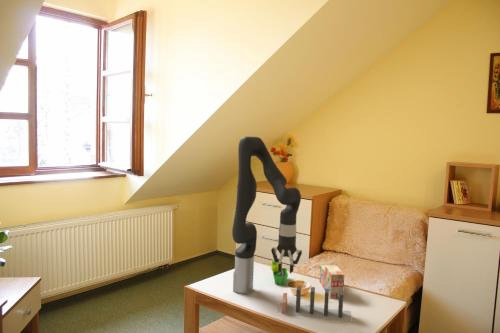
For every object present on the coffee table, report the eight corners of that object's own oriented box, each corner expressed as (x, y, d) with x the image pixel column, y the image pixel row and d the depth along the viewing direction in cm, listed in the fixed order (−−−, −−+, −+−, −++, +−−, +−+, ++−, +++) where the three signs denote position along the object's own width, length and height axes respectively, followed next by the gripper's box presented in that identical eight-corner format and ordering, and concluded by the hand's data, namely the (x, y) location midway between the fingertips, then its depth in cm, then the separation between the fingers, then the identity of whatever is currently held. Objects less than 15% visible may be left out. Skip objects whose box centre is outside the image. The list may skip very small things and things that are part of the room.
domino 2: (295, 312, 169) (296, 289, 168) (296, 307, 174) (297, 285, 173) (299, 312, 169) (300, 290, 168) (300, 307, 173) (301, 285, 173)
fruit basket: (287, 285, 199) (288, 264, 198) (270, 285, 200) (271, 263, 199) (286, 277, 211) (287, 257, 210) (269, 276, 211) (270, 256, 210)
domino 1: (282, 302, 167) (283, 292, 177) (281, 313, 167) (283, 303, 177) (285, 302, 167) (287, 293, 177) (285, 313, 167) (286, 303, 177)
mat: (277, 313, 168) (277, 312, 168) (280, 303, 178) (280, 302, 178) (351, 322, 162) (351, 321, 162) (350, 311, 171) (350, 311, 171)
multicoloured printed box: (319, 282, 206) (320, 259, 205) (330, 282, 206) (331, 259, 205) (330, 299, 185) (331, 273, 184) (343, 299, 185) (344, 274, 184)
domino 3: (309, 313, 168) (310, 291, 167) (310, 308, 173) (311, 286, 172) (313, 314, 167) (314, 291, 167) (313, 309, 172) (314, 287, 171)
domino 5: (338, 317, 165) (339, 294, 164) (338, 312, 170) (339, 290, 169) (342, 317, 165) (343, 295, 164) (341, 312, 170) (343, 290, 169)
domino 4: (323, 315, 166) (324, 292, 166) (324, 310, 171) (325, 288, 171) (327, 316, 166) (328, 293, 165) (327, 311, 171) (328, 288, 170)
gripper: (269, 234, 167) (268, 273, 169) (303, 237, 164) (301, 276, 166) (272, 230, 175) (271, 267, 176) (304, 232, 172) (302, 270, 173)
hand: (285, 271), depth 171 cm, fingers open, 4 cm apart
